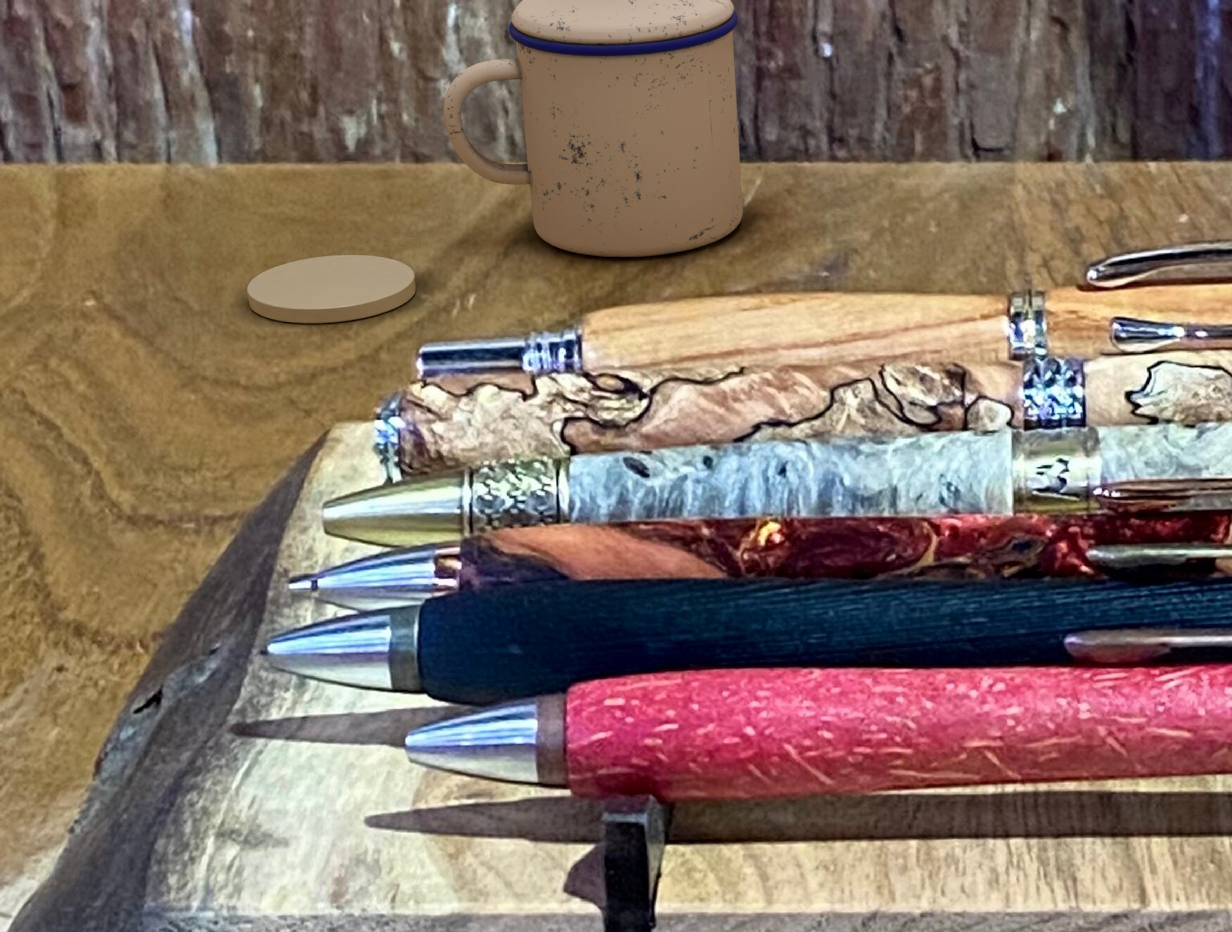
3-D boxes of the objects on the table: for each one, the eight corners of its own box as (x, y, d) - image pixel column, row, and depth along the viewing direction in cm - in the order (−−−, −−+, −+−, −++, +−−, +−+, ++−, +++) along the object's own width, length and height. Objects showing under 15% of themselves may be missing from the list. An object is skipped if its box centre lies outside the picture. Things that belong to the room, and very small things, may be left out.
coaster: (230, 324, 102) (227, 309, 102) (271, 269, 107) (270, 255, 107) (397, 322, 102) (395, 307, 101) (430, 268, 107) (429, 253, 107)
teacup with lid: (727, 185, 116) (711, -91, 111) (768, 249, 108) (752, -45, 103) (448, 212, 114) (417, -69, 108) (468, 279, 106) (436, -20, 100)
